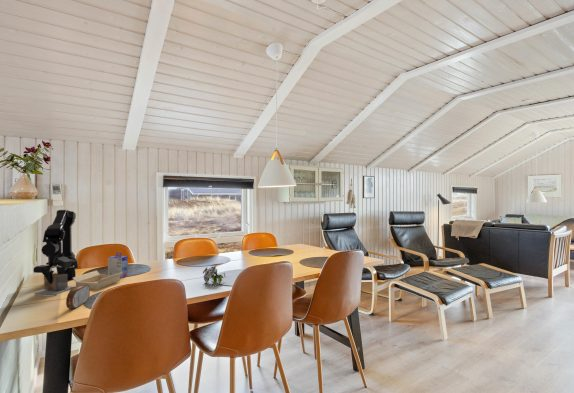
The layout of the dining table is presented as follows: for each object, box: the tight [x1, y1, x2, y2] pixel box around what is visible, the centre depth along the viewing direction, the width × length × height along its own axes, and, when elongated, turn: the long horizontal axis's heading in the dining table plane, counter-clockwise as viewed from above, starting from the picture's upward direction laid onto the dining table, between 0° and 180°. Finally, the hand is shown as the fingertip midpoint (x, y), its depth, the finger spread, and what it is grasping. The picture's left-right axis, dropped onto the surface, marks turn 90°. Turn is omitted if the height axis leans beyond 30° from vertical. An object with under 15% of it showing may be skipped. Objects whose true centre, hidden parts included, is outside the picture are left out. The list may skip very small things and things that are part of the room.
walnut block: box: [43, 272, 69, 290], centre depth 165 cm, size 9×5×7 cm, turn 78°
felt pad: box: [34, 285, 76, 297], centre depth 165 cm, size 12×12×1 cm
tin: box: [65, 284, 91, 309], centre depth 144 cm, size 15×3×8 cm, turn 5°
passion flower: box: [202, 264, 226, 286], centre depth 177 cm, size 11×11×12 cm
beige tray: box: [72, 270, 123, 290], centre depth 176 cm, size 18×16×6 cm
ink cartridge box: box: [107, 252, 129, 279], centre depth 191 cm, size 10×6×14 cm, turn 78°
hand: (55, 282), depth 165 cm, fingers closed on walnut block, 5 cm apart
